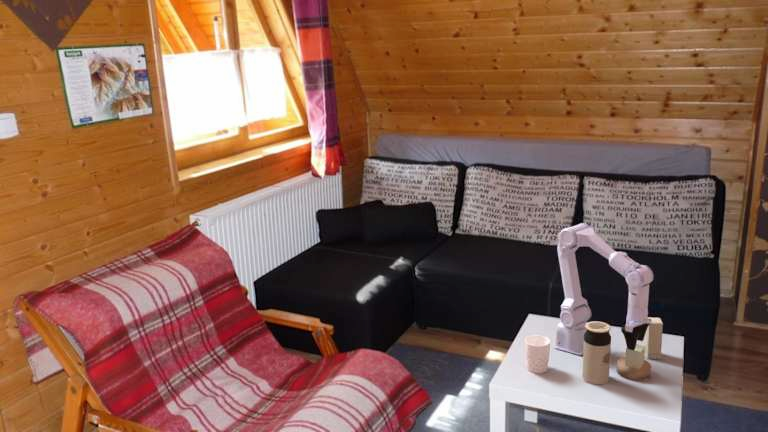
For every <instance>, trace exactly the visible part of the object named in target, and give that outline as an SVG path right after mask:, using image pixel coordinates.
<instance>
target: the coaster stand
mask: <svg viewBox="0 0 768 432" xmlns="http://www.w3.org/2000/svg"><path fill="white" fill-rule="evenodd" d="M616 362H617V365H616V373H617V374H618V375H619V376H620V377H621V378H624V379H626V380H629V381H635V382H640V381H641V382H642V381H647V380H648V379H650V377H651V373H652V372H651V371H652V366H651V363H649V361H648V360H645V359H644V364H643V365H642V367H641V368H640V369H636V368H633V367H629V366H625V356H624V357H621V358H619V359H617V361H616Z"/></svg>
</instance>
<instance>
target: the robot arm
mask: <svg viewBox="0 0 768 432" xmlns="http://www.w3.org/2000/svg"><path fill="white" fill-rule="evenodd" d="M557 238H558V242H557V247H556V249H557V250H556V251H557V256H558V263H559V268H560V274H561V281H562V288H563V293H564V299H563V302H562V304H561V305H560V310H561V311H560V314H559V317H560V322H559V323H558V324H557V326H556V333H555V335H556V337H555V338H556V339H555V347H554V348H555V349H557V350H560V351H563V352H566V353H570V354H574V355H578V356H583V349H584V333H585V332H586V331H587V330H586V327H585V325H586V324H587V323H588V321H590V319H591V318H592V309H591V308H590V307H589V305H588V300H587V299H585V298H584V296H582V295H583V294H582V289H581V284H580V277H579V276H580V275H579V271H578V266H577V265H578V264H577V259H576V251H577V250H578V249H579V248H580V247H581V248H582V247H589V248H590V249H591V250H593V251H594V252H596V253H597V254H599V255H600V256H602V257H603V258H605V259H607V260H608V265H609V266H610V267H611V268H612V269H613V270H615V271H616V272H617V273H618V274H620V276H622V277H624V278H625V282H626V284H627V286H628V287H627V290H628V298H627V314H626V318H625V319H626V323H625V325H622V326H621V333H622V334H623V336H624V340H625V345H626V348H627V349H630V350H635V347H636V344H637V342H638V341H639V342H643V341H644V340H645V338H646V330H647V328H648V326H649V324H650V323H651V319H649V318H647V317H649V316H648V315H649V310H648V308H649V295H650V283H651V282H653V280H654V276H655V275H654V273H653V271H652V269H651V267H649V266H648V265H646V264H645V265H644V264H640V263H639V262H636V261H635V260H633V259H632V258H630V257H629V256H628V253H627V252H625V251H616V250H615V249H613V248H612V247H611V246H610V245H609V244H608V243H607V242H605V240H603V239H602V238H601V237H600V236H598V235H597V234H596V232H595V230H594V228H592V227H590V225H588V224H587V223H584V222H581V223H579V224H576V225H573V226H570V227H564V228H562V230H561V231H560V232H559V233H558V234H557Z"/></svg>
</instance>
